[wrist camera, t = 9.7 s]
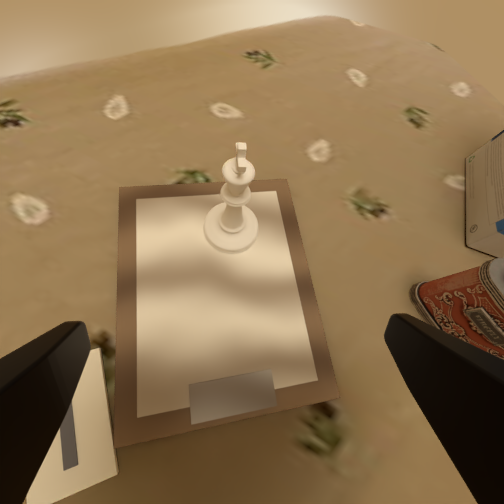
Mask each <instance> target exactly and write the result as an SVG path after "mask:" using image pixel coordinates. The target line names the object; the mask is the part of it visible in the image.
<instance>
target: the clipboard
mask: <svg viewBox="0 0 504 504" xmlns="http://www.w3.org/2000/svg"><path fill="white" fill-rule="evenodd" d="M225 183H226V182H213V183H193V184H173V185H153V186H133V187H119V225H118V269H117V314H116V358H115V403H114V447H113V449H115V448H120V447H124V446H128V445H133V444H137V443H142V442H146V441H151V440H155V439H160V438H164V437H168V436H173V435H177V434H182V433H186V432H191V431H195V430H200V429H204V428H209V427H213V426H217V425H222V424H226V423H231V422H235V421H240V420H244V419H249V418H253V417H257V416H262V415H266V414H271V413H275V412H280V411H284V410H289V409H293V408H298V407H302V406H306V405H311V404H315V403H320V402H324V401H329V400H333V399H338V398H340V395H339V391H338V387H337V383H336V379H335V374H334V370H333V366H332V362H331V358H330V354H329V350H328V346H327V342H326V337H325V333H324V329H323V325H322V321H321V317H320V313H319V309H318V305H317V300H316V296H315V292H314V288H313V284H312V280H311V276H310V272H309V268H308V264H307V259H306V255H305V251H304V247H303V243H302V239H301V235H300V231H299V227H298V222H297V218H296V214H295V210H294V206H293V202H292V198H291V194H290V190H289V185H288V181H287V179H273V180H253V181H252V182H251V183H250V184H249V185H248V187H249V188H250V191H251V198H250V200H249V202H248V203H247V204H246V205H245V206H246V207H248V208H249V209H250V210H251V211H252V212H253V213H254V214H255V216H256V218H257V221H258V236H257V239H256V241H255V243H254V244H253V245H252V246H251V247H250V248H249V249H247V250H246V251H244V252H241V253H237V254H227V253H223V252H220V251H218V250H216V249H214V248H213V247H212V246H211V245H210V244H209V243H208V241H207V240H206V238H205V235H204V230H203V227H204V221H205V218H206V215H207V214H208V212H209V211H210V210H211V209H212V208H213V207H215V206H216V205H218V204H221V203H224V201H223V200H222V198H221V195H220V191H221V188H222V186H223V185H224V184H225Z"/></svg>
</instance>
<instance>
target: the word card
mask: <svg viewBox="0 0 504 504" xmlns="http://www.w3.org/2000/svg"><path fill="white" fill-rule="evenodd" d="M113 447H114V435H113V428H112V421H111V414H110V407H109V400H108V393H107V386H106V379H105V372H104V366H103V359H102V352H101V348H97V349H94V350H91V351H90V353H89V356H88V359H87V362H86V364H85V367H84V370H83V372H82V375H81V378H80V380H79V383H78V386H77V388H76V391H75V394H74V396H73V399H72V402H71V404H70V407H69V409H68V412H67V414H66V416H65V418H64V420H63V422H62V424H61V426H60V428H59V430H58V432H57V435H56V437H55V439H54V441H53V443H52V445H51V447H50V449H49V451H48V453H47V455H46V457H45V459H44V461H43V463H42V465H41V467H40V469H39V471H38V473H37V475H36V477H35V479H34V481H33V483H32V485H31V487H30V489H29V491H28V493H27V495H26V498H27V504H52V503H54V502H56V501H59V500H61V499H63V498H65V497H68V496H70V495H72V494H74V493H77V492H79V491H81V490H84V489H86V488H88V487H90V486H93V485H95V484H97V483H99V482H102V481H104V480H106V479H108V478H111V477H113V476H115V475H117V474H118V473H119V469H118V462H117V456H116V449H113Z"/></svg>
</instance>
